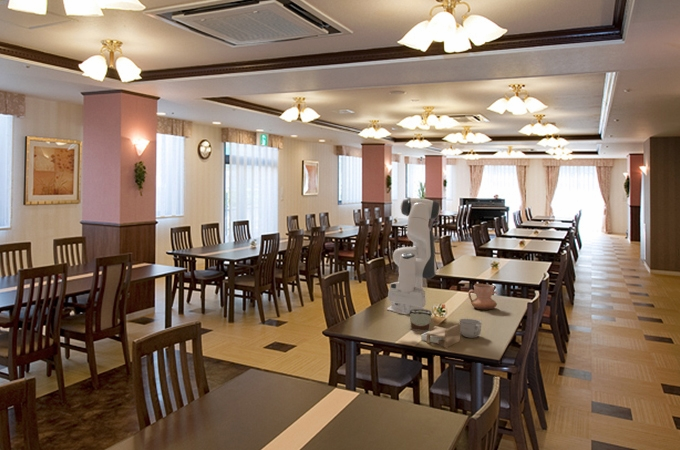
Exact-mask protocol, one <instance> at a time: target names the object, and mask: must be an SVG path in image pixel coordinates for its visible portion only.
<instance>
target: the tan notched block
mask: <svg viewBox="0 0 680 450" xmlns="http://www.w3.org/2000/svg"><path fill="white" fill-rule="evenodd" d="M429 331H430V332H428V331H427V332H428V333H427V341H426V344H431V342H430V335H431V336H436V337H441V338H445V341H444V340H439V343H438V346H441V347H444V348H449V347H451V346H452V345H454V344H456V343H458V342H460V341H461V333H460V323H456V324H455V325H453V326H449V327H448V328H447V327H442V326H436V325H435V326H433V330H429Z"/></svg>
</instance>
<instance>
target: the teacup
mask: <svg viewBox="0 0 680 450" xmlns="http://www.w3.org/2000/svg"><path fill="white" fill-rule="evenodd" d="M459 324H460V335H462V336H463V337H466V338H471V339H472V338H473V339H474V338H478V337H479V335H481V333H482V325H483V322H482V321H481V320H479V319H473V318H460V319H459Z"/></svg>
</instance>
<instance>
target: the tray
mask: <svg viewBox="0 0 680 450" xmlns="http://www.w3.org/2000/svg"><path fill="white" fill-rule="evenodd" d="M430 331H431V330H429V331H425V332H424V333H422V334H420V339H421V341H426V342H427V333H428V332H430ZM439 340H444V341H445V338H441V337H436V336H431V335H430V343H435V344H439Z"/></svg>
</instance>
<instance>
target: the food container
mask: <svg viewBox="0 0 680 450" xmlns="http://www.w3.org/2000/svg"><path fill="white" fill-rule="evenodd" d="M408 315H409V318H410V330H414V331H422V332H428V331H430V328H431V327H430V326H431V319H432V316H433V313H432V311H431V309H425V308H424V309H412V310H410V312H409V314H408Z"/></svg>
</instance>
